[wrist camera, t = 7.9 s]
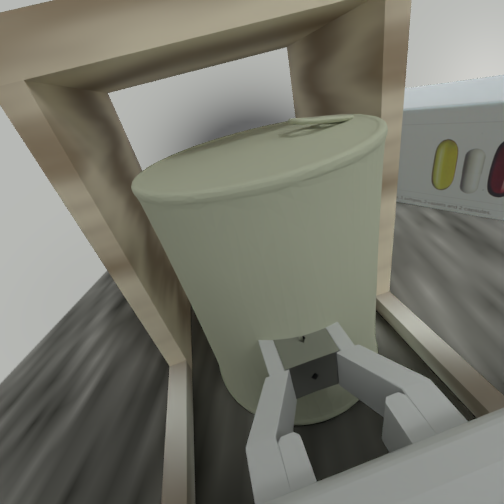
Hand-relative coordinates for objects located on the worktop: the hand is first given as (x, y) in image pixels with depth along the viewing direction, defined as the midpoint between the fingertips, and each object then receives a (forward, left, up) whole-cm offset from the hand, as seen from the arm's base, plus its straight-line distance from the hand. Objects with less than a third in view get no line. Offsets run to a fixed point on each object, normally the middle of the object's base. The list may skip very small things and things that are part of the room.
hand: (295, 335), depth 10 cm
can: (-2, -3, -5) cm, 6 cm away
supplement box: (-29, -4, -5) cm, 29 cm away
